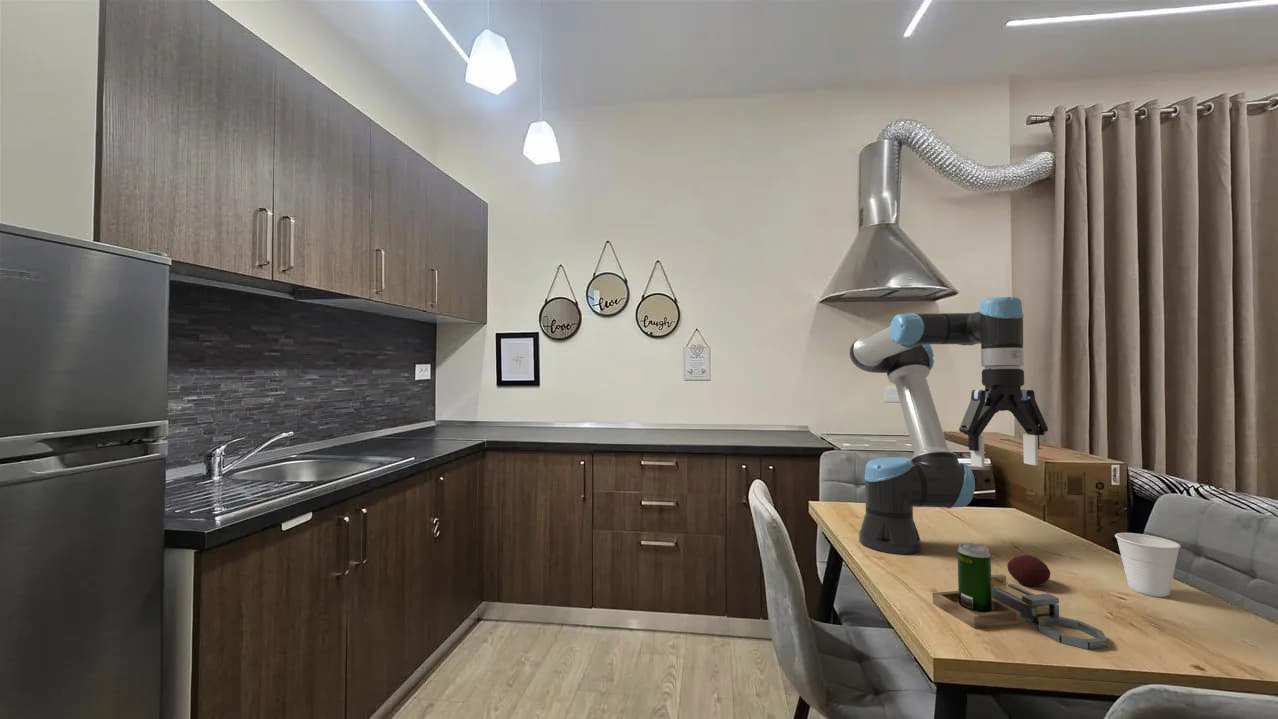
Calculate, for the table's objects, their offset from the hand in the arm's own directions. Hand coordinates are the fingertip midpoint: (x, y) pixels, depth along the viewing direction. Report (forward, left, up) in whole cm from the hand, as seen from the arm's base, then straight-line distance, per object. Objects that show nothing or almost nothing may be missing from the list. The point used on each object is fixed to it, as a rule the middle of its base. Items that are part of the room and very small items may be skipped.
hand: (1004, 465), depth 107 cm
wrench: (+13, -6, -27) cm, 30 cm away
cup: (+6, +29, -27) cm, 40 cm away
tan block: (+8, -6, -26) cm, 28 cm away
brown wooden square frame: (+8, -16, -27) cm, 32 cm away
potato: (-2, +8, -27) cm, 28 cm away
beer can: (+8, -16, -26) cm, 32 cm away
